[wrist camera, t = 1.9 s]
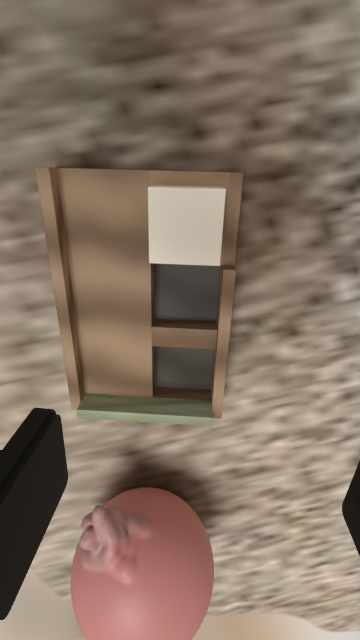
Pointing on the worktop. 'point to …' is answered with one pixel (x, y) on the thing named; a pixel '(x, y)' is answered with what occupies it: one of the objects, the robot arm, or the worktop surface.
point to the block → (185, 224)
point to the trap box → (136, 298)
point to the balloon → (142, 569)
